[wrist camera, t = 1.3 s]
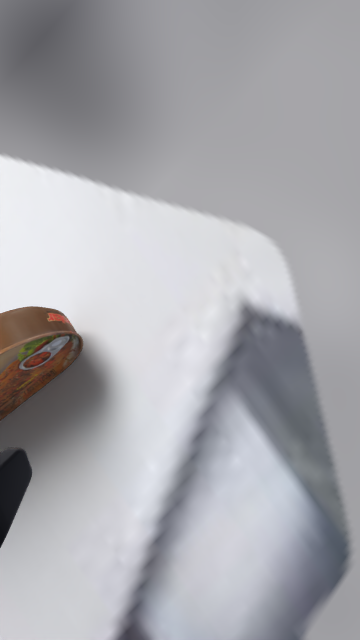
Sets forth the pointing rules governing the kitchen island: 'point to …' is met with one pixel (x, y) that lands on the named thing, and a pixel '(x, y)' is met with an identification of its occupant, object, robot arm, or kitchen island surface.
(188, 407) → the kitchen island surface
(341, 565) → the kitchen island surface
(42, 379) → the tin
